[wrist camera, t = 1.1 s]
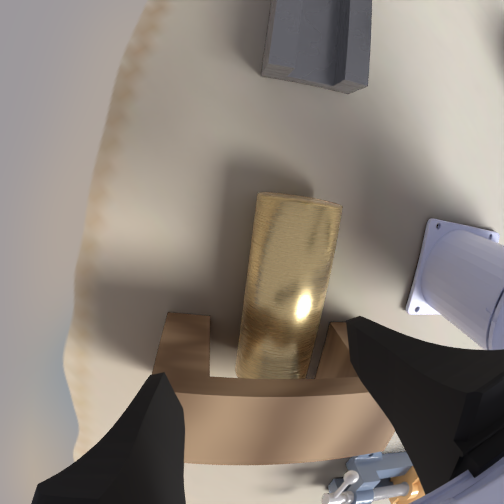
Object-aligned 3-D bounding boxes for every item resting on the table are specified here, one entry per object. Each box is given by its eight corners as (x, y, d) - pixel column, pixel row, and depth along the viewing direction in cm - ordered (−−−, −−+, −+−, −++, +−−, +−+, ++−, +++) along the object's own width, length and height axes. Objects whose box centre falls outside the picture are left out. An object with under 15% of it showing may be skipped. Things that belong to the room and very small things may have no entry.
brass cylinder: (327, 199, 21) (356, 211, 17) (297, 353, 24) (312, 393, 20) (253, 189, 21) (263, 199, 16) (233, 350, 24) (237, 393, 19)
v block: (355, -27, 16) (371, -45, 13) (348, 94, 19) (367, 86, 16) (278, -47, 15) (286, -68, 13) (260, 76, 18) (268, 63, 16)
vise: (445, 435, 32) (468, 467, 26) (406, 481, 34) (423, 512, 28) (335, 444, 29) (355, 491, 22) (299, 493, 31) (310, 535, 25)
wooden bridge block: (364, 322, 24) (417, 386, 16) (345, 381, 26) (383, 450, 18) (167, 312, 22) (148, 389, 14) (167, 377, 24) (155, 459, 16)
